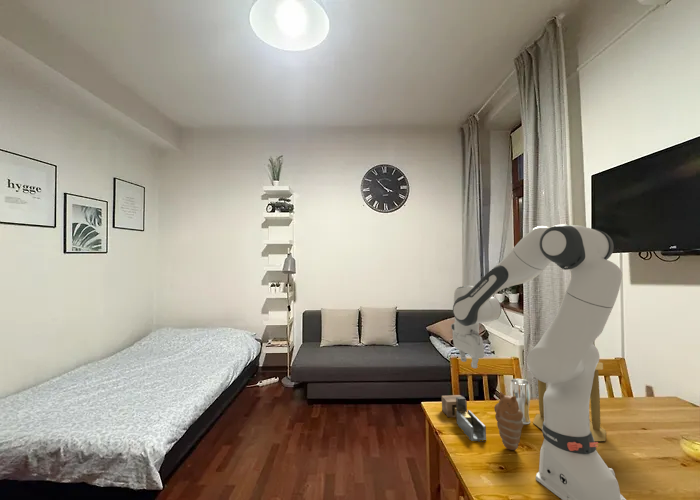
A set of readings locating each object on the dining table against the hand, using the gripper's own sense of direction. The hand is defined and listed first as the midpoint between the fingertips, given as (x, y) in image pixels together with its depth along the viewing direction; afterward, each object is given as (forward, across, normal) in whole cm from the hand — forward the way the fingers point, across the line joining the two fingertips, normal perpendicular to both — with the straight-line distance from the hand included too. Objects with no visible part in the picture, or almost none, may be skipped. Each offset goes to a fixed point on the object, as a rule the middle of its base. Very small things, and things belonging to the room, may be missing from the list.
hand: (468, 364), depth 131 cm
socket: (+22, +10, +3) cm, 25 cm away
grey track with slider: (+22, -6, +3) cm, 23 cm away
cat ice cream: (+23, -18, -5) cm, 30 cm away
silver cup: (+23, +1, -20) cm, 30 cm away
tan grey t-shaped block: (+21, +4, +3) cm, 22 cm away
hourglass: (+23, -6, -34) cm, 42 cm away
